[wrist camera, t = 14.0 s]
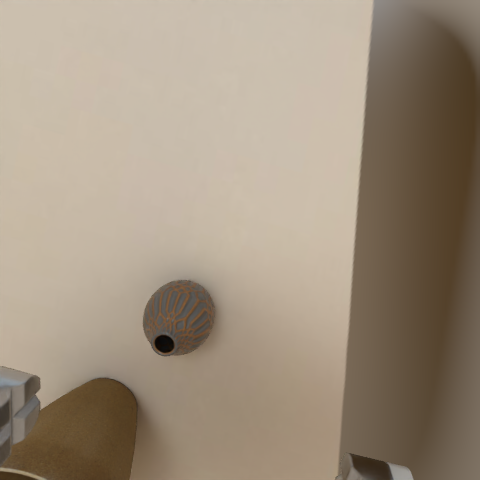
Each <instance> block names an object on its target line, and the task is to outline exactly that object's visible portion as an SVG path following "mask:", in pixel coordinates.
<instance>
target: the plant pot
mask: <svg viewBox="0 0 480 480" xmlns="http://www.w3.org/2000/svg"><path fill="white" fill-rule="evenodd" d="M136 424H137V404H136V400H135V398H134V396H133V394H132V393H131V392H130V390H129V389H128V388H126V387H125V386H124V385H123V384H121V383H119V382H117V381H115V380H112V379H106V378H98V379H94V380H91V381H89V382H87V383H85V384H83V385H81V386H80V387H78V388H76V389H74V390H72V391H70V392H69V393H67V394H65V395H64V396H62V397H60V398H59V399H57V400H56V401H54V402H52V403H51V404H49V405H48V406H46V407H45V408H43V409H42V410H40V412H39V416H38V419H37V421H36V423H35V425H34V427H33V429H32V431H31V432H30V433H29V434H28V436H27V437H26V438H25V439H24V440H23V441H20V442H18V443H16V444H14V445H12V452H11V455H10V457H9V458H8V459H7V460H6V461H5V462H4V463H3V465H2V466H1V467H0V480H129V479H130V473H131V468H132V462H133V455H134V447H135V438H136Z"/></svg>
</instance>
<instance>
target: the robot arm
mask: <svg viewBox="0 0 480 480" xmlns="http://www.w3.org/2000/svg"><path fill="white" fill-rule="evenodd" d="M39 389H40V378H39V377H38V376H36V375H32V374H29V373H25V372H22V371H18V370H15V369H11V368H7V367H4V366H0V467H1V466H2V465H3V463H4V462H5V461H6V460H7V459H8V458H9V457H10V455H11V452H12V445H14V444H16V443H18V442H20V441H23V440H24V439H25V438H26V437H27V436H28V434H29V433H30V432H31V431H32V429H33V427H34V425H35V423H36V421H37V419H38V416H39V412H40V401H39V399H38V398H37V396H36V395H35V394H36V393H37V392H38V391H39ZM340 466H341V474H340V475H339V476H337V477H336V478H335V480H413V477H412V474H411V471H410V470H409V469H408V468H407V467H406V466H401V465H397V464H393V463H388V462H383V461H379V460H375V459H371V458H367V457H363V456H358V455H354V454H350V453H345V454H344V455H343V457H342V460H341V463H340Z"/></svg>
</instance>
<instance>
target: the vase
mask: <svg viewBox="0 0 480 480" xmlns="http://www.w3.org/2000/svg"><path fill="white" fill-rule="evenodd" d="M214 317H215V312H214V305H213V302H212V299H211V297H210V295H209V294H208V292H207V291H206V290H205V289H204V288H203V287H202V286H200V285H199V284H197V283H194V282H192V281H187V280H178V281H173V282H170V283H168V284H166V285H164V286H162V287H161V288H159V289H158V290H157V291H156V292H155V293H154V294H153V295H152V297H151V298H150V300H149V301H148V303H147V305H146V308H145V311H144V316H143V328H144V332H145V335H146V337H147V339H148V341H149V342H150V344H151V346H152V348H153V350H154V351H155V352H156V353H157V354H159V355H161V356H170V355H184V354H187V353H190V352H192V351H194V350H195V349H197V348H198V347H199V346H200V345H201V344H202V343H203V342H204V341H205V340H206V339H207V337H208V336H209V334H210V332H211V329H212V326H213V323H214Z"/></svg>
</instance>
